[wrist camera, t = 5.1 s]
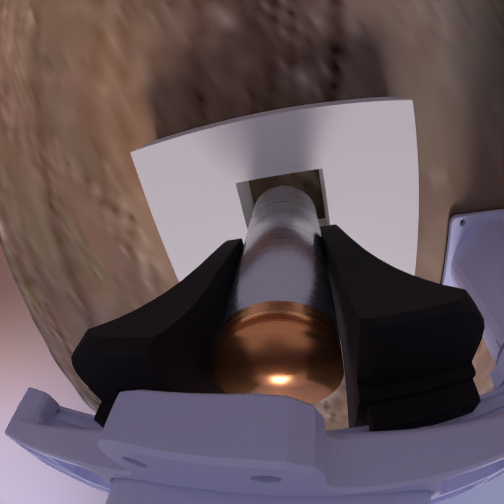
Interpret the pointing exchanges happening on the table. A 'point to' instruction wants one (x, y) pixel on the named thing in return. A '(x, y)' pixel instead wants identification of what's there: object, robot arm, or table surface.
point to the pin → (281, 307)
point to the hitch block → (284, 162)
